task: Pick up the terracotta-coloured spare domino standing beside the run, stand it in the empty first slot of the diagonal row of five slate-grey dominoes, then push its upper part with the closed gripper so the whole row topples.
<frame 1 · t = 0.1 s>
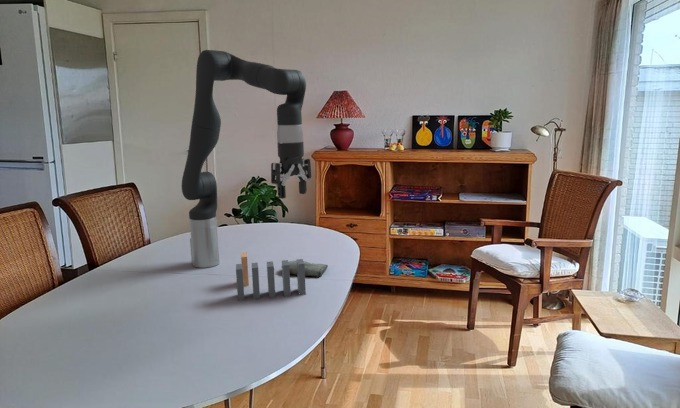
hand: (292, 196, 148), 29 cm above the table, fingers open, 8 cm apart
domino 2: (256, 295, 149), on the table
domino 1: (241, 297, 149), on the table
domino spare: (245, 283, 160), on the table
domino 3: (271, 294, 150), on the table
stone: (304, 273, 170), on the table
domino 5: (301, 291, 152), on the table
domino 4: (286, 293, 151), on the table
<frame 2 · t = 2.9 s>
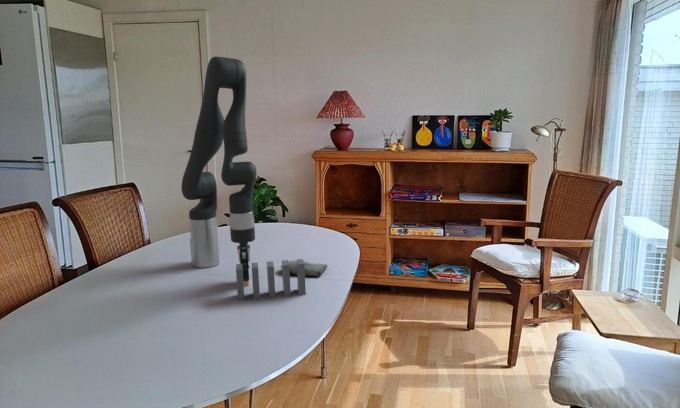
hand: (245, 277, 160), 2 cm above the table, fingers closed on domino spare, 5 cm apart
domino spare: (245, 283, 160), on the table, touching gripper
everything else where it was.
when the fingers open (3 cm above the table, at t = 8.1 s): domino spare stays where it is, on the table.
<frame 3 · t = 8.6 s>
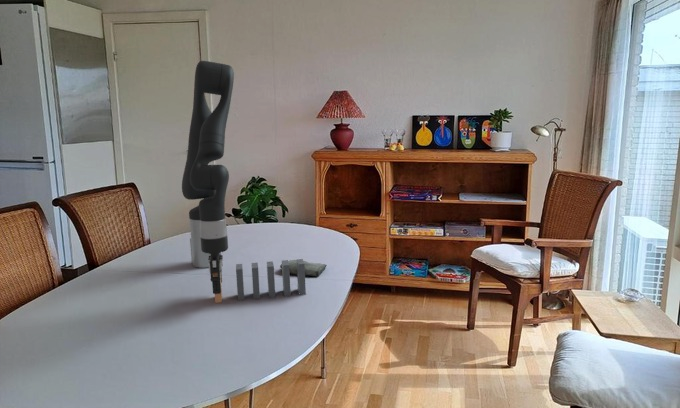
hand: (217, 288, 147), 3 cm above the table, fingers open, 8 cm apart
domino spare: (218, 299, 147), on the table
everything else where it was.
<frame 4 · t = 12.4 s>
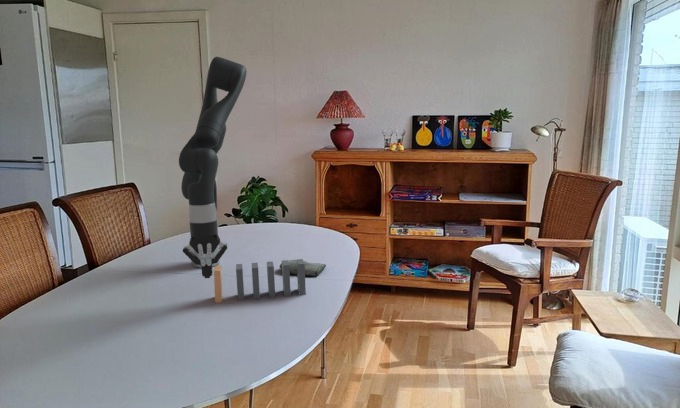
hand: (207, 277, 146), 7 cm above the table, fingers closed
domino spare: (218, 299, 147), on the table, touching gripper
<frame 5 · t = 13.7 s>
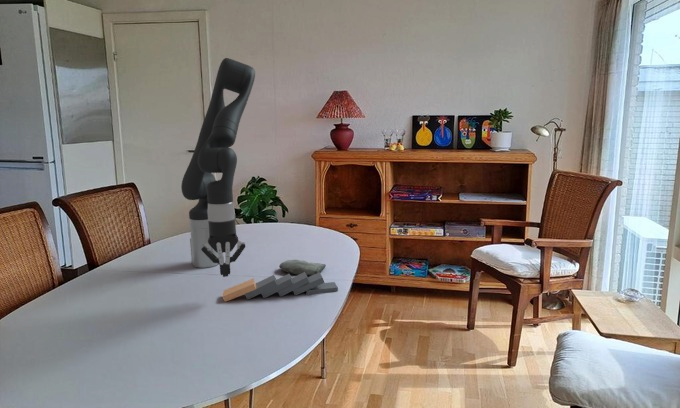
hand: (225, 275, 147), 7 cm above the table, fingers closed
domino 2: (262, 292, 150), point 1 cm above the table, tilted 67°, touching domino 1, domino 3
domino 1: (246, 294, 149), point 1 cm above the table, tilted 67°, touching domino 2, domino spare
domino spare: (224, 296, 148), point 1 cm above the table, tilted 71°, touching domino 1
domino 3: (278, 291, 150), point 1 cm above the table, tilted 67°, touching domino 2, domino 4
domino 5: (305, 290, 152), on the table, tilted 90°, touching domino 4
domino 4: (293, 290, 151), point 1 cm above the table, tilted 71°, touching domino 3, domino 5
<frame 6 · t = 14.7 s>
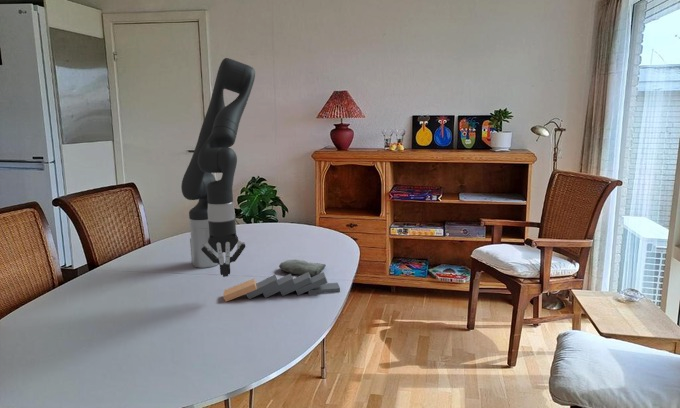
hand: (225, 275, 147), 7 cm above the table, fingers closed
domino 4: (296, 289, 151), point 1 cm above the table, tilted 70°, touching domino 3, domino 5
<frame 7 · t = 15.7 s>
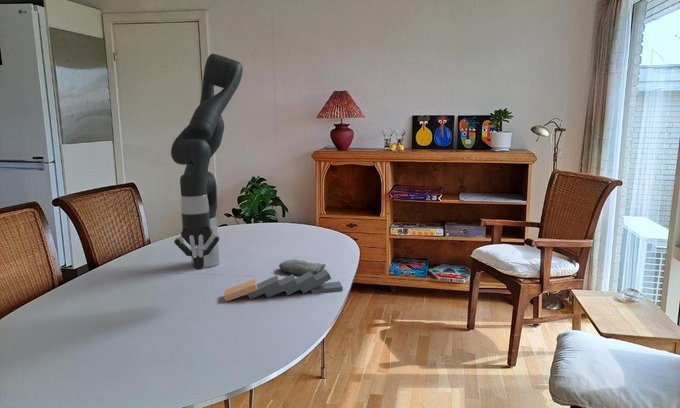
hand: (199, 268, 145), 10 cm above the table, fingers closed
domino 3: (284, 290, 151), point 1 cm above the table, tilted 68°, touching domino 2, domino 4
domino 4: (300, 288, 152), point 1 cm above the table, tilted 68°, touching domino 3, domino 5
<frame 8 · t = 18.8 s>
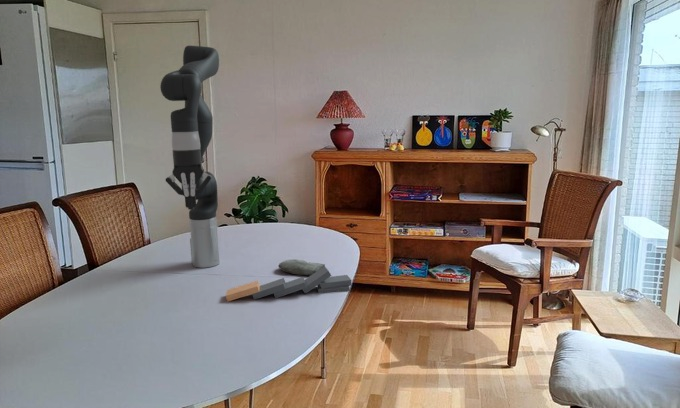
hand: (191, 208, 143), 27 cm above the table, fingers closed
domino 2: (274, 292, 150), point 1 cm above the table, tilted 74°, touching domino 1, domino 3
domino 1: (253, 293, 149), point 1 cm above the table, tilted 74°, touching domino 2, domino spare
domino 3: (302, 288, 152), point 1 cm above the table, tilted 60°, touching domino 2, domino 4
domino 5: (317, 289, 153), on the table, tilted 90°, touching domino 4
domino 4: (319, 283, 153), point 2 cm above the table, tilted 90°, touching domino 3, domino 5
at the end: domino 5 tilted 90°; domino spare inside the target area (2.6 cm from its centre), point 0.9 cm above the table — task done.
